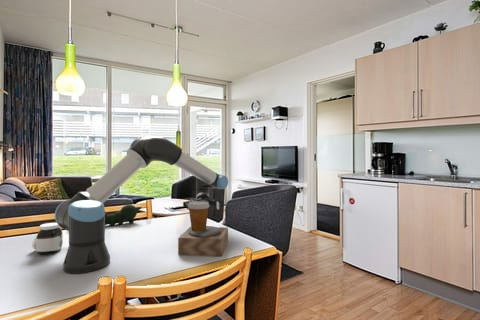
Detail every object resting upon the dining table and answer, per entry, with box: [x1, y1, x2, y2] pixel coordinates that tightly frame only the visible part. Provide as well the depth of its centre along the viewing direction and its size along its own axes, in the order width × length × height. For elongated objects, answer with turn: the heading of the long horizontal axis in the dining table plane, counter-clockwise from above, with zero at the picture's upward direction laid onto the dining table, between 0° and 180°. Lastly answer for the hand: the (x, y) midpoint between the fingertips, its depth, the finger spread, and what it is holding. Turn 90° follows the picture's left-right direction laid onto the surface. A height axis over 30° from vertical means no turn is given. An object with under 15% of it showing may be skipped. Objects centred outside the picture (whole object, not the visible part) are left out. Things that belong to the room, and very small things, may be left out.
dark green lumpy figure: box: [105, 196, 143, 227], centre depth 162 cm, size 9×19×25 cm
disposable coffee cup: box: [188, 200, 211, 232], centre depth 121 cm, size 10×10×12 cm
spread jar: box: [31, 222, 64, 256], centre depth 116 cm, size 12×11×12 cm
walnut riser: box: [177, 225, 229, 257], centre depth 120 cm, size 18×18×8 cm
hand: (204, 207), depth 129 cm, fingers open, 13 cm apart
